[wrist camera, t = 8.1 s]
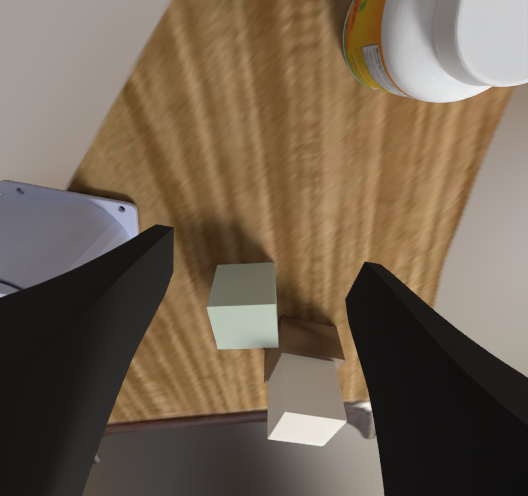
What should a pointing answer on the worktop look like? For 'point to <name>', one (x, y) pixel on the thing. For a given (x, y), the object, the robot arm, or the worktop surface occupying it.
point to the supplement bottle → (437, 46)
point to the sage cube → (244, 306)
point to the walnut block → (304, 343)
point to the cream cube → (304, 401)
